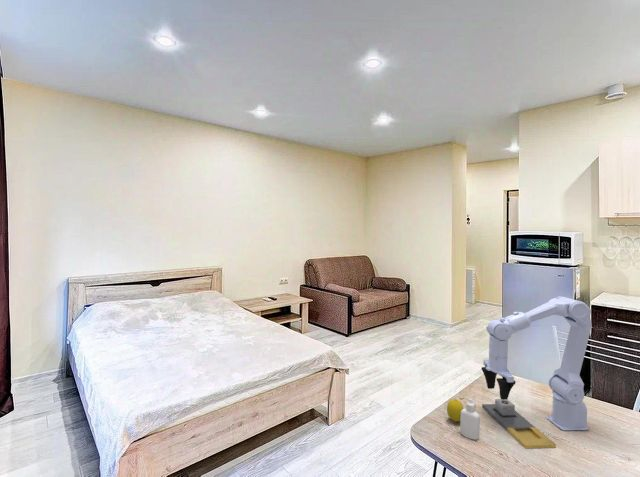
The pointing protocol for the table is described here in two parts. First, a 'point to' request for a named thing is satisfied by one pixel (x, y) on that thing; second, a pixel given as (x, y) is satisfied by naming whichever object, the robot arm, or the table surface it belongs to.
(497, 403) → the grey cube with hole
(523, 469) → the table surface
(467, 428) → the eye dropper bottle
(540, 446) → the rail
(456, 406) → the lemon
